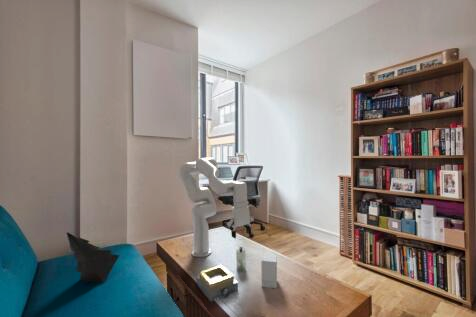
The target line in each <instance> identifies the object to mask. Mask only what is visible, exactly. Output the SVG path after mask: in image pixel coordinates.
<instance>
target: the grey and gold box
mask: <svg viewBox="0 0 476 317" xmlns="http://www.w3.org/2000/svg"><path fill="white" fill-rule="evenodd" d="M198 274H199V275H198ZM198 274H197V275H195V276H196V277H195V278H196V280H195V281H196V283H197V284H198V285H197V284H196V283H195V284H196V285H197V287H198V288H199V289H200V290H201V291H202V293H203V294H204V295H205V296H206V298H207V299H208V300H209V302H210V303H212V302H214V301H216V300H215V299H217V298H219V299H221V298H227V297H229V295H231V294H233V293H235V291H236V292H237V291H239V283H238V281H237V280H236V279H235V275H234V274H233V273H232V272H230V271H229V270H228V269H227V268H226V267H225V266H223V265H222V264H220V265H217V266H215V267H211V268H208V269H205V270H202V271H199V273H198ZM232 292H233V293H232ZM230 293H231V294H230ZM222 296H224V297H222ZM220 297H221V298H220ZM217 300H218V299H217Z"/></svg>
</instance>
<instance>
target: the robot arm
mask: <svg viewBox="0 0 476 317" xmlns="http://www.w3.org/2000/svg"><path fill="white" fill-rule="evenodd" d="M178 172H179V177H180V179H181V181H182V183H183V185H184V188H185V191H186V194H187V196H188V200H189V202H190V203H192V204H196V205H194V206H193V207H192V209H191V216H192V223H193V249H192V251H191V255H192V256H193V257H195V258H204V257H208V256H210V255H211V254H212V249H211V248H210V244H209V243H210V242H209V241H210V240H209V238H210V237H209V234H210V233H209V230H210V229H209V223H208V221H207V218H211V217H213V216H215V215H216V214H217V211H218V208H217V205H216V201H215V199H214V196H213V194H212V191H214V193H216V194H217V195H218V196H220V197H225V196H229V195H233V197H232V198H233V207H232V209H231V215H230V220H229V221H228V222H227V223H226V225H227V227H228V229H229V230H231V237H232V238H233V239H236V238H237V231H236V229H237V228H238V227H243V226H245V227H246V228H245V230H246V231H245V232H246V234H248V235H252V234H251V232H252V230H251V228H252V225H253V224H254V220H255V217H253V216H251V215H250V210H249V209H250V208H249V206H248V205H249V204H250V202H249V201H248V188H247V187H248V186H247V183H246V182H244V181H236V180H227V181H221V180H220V179H218V177H219V176H220V169H219V168H218V163H217V161H216V160H215V159H214V158H213V157H201V158H199V159H196V160H195V161H189V162H184V163H183V164H181V165H180V167H179V170H178ZM193 175H195V176H196V175H203V176H204V177H205V178H207V179H208V184H209V187H210V188H208V187H207V186H206V187H205V186H203V187H200V186H199V183H198V181H197V179H196V178H195V177H194V176H193ZM210 189H211V190H212V191H211V190H210ZM202 202H203V203H202ZM198 203H199V204H198Z"/></svg>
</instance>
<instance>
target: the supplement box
mask: <svg viewBox="0 0 476 317" xmlns="http://www.w3.org/2000/svg"><path fill="white" fill-rule="evenodd" d="M277 255H278V254H276V255H273V254H262V256H261V263H260V264H261V287H262V288H263V287H264V288H269V289H270V288H271V289H273V288H274V289H277V288H278V287H277V286H278V258H277V257H278V256H277Z"/></svg>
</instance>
